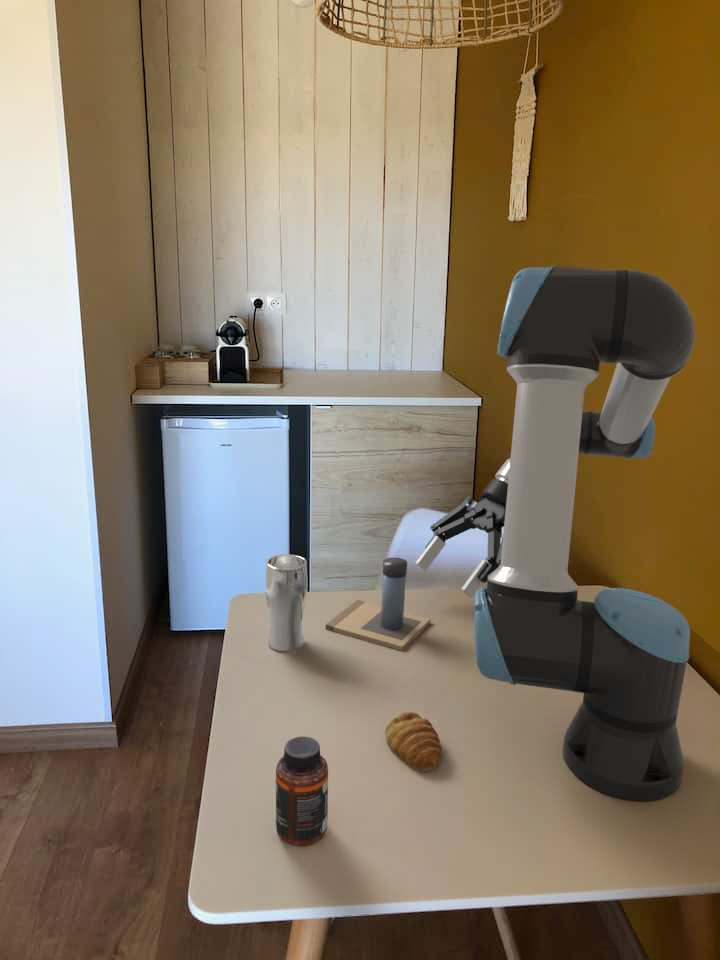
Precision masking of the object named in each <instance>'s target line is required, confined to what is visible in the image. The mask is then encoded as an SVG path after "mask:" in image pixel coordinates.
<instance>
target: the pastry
mask: <svg viewBox="0 0 720 960" xmlns="http://www.w3.org/2000/svg"><path fill="white" fill-rule="evenodd" d="M384 732H385V740H386V741H385V742H386V743H387V746H388V747H389V749H390V751H391V752H392V753H393V754H394V755H395V754H396V755H395V756H396V757H397V758H398V759H399V758H400V759H399V760H401V761H402V762H403V763H404V762H405V763H404V764H406V766H408V767H409V768H411V769H413V770H416V771H418V772H419V773H422V772H423V773H426V772H428V771H433V770H435V769H438V767H439V765H441V762H442V761H443V759H444V757H443V753H442V752H443V751H442V749H443V747H442V746H441V741H440V738H439V734H438V733H437V731H436V730H435V728H434V727H433V724H432V723H431V721H430V720H429V719H428V718H422V717H421V716H420V714H419V713H416V712H412V711H408V712H402V713H400V714H399V715H397V716H395V717H393V718H392V720H390V722H389V723H388V724H387V726H386V728H385V731H384Z"/></svg>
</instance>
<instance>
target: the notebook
mask: <svg viewBox="0 0 720 960" xmlns="http://www.w3.org/2000/svg"><path fill="white" fill-rule="evenodd" d="M380 622H381V605H379V604H377V603H376V604H375V603H371V602H368V601H364V600H362V599H357V600H355V601H354V602H353V603H351V604H350V605H349V606H348V607H347V608H345V609H344V610H343V611H341V612H339V613H338V614H337V615H336V616H335V617H333V618H332V619H331V620H329V621H328V622H327V623H326V624H325V629H326V630H328V631H331V632H336V633H339V634H343V635H345V636H349V637H353V638H356V639H360V640H363V641H367V642H369V643H370V642H371V643H373V644H378V645H381V646H384V647H387V648H390V649H394V650H398V651H404V649H406V648H407V647H408V645H410V644H411V642H413V641H414V640H415V639H416V638H417V636H419V635H420V633H422V632H423V631H424V630H425V629H426V627H428V626H429V625H430V624H431V618H429V617H424V616H421V615H417V614H414V613H410V612H406V611H404V615H403V627H402V628H400V629H397V630H388V629H385V628H383V627H382V626H381V625H380Z"/></svg>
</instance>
